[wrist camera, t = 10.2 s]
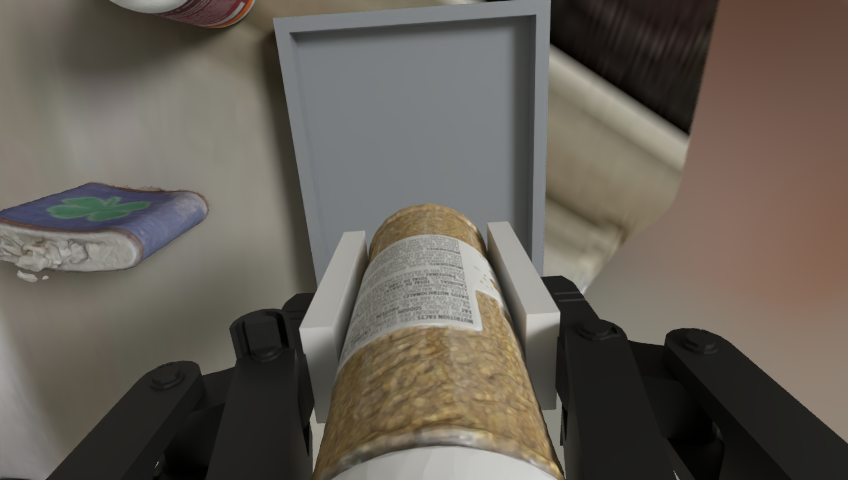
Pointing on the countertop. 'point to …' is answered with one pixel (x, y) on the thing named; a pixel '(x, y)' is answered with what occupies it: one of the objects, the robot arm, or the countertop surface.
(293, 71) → the tray
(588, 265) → the countertop surface
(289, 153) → the countertop surface
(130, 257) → the flask
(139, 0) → the pill bottle
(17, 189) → the countertop surface
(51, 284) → the countertop surface
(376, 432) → the sprinkles bottle
